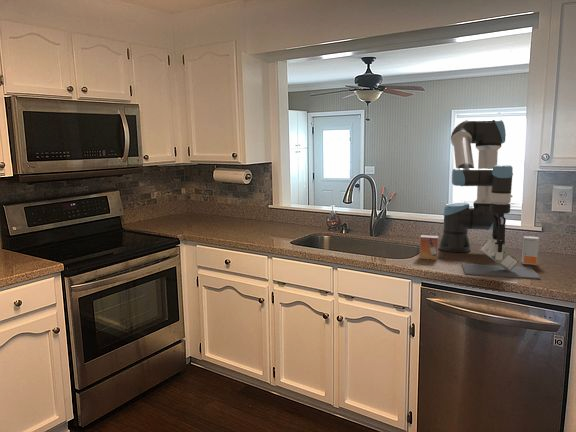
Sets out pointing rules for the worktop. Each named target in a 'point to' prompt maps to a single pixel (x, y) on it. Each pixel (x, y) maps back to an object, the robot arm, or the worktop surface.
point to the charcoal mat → (499, 271)
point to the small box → (428, 247)
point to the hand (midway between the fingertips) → (497, 256)
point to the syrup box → (490, 250)
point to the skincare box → (530, 250)
